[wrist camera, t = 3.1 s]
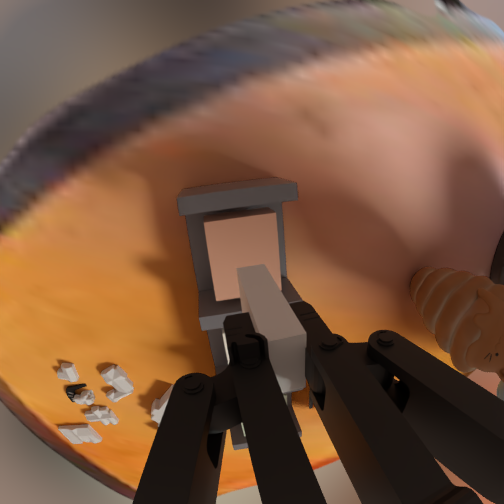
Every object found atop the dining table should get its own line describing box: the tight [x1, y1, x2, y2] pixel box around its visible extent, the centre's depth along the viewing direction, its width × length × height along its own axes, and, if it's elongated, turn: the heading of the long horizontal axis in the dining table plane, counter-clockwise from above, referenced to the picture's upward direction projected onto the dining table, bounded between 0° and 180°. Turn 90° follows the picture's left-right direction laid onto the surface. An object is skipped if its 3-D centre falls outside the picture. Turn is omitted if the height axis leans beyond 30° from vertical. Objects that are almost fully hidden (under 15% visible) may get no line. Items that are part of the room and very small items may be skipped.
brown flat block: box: [204, 207, 282, 301], centre depth 22 cm, size 5×6×2 cm
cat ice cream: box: [410, 267, 504, 382], centre depth 22 cm, size 9×8×18 cm
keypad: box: [177, 177, 303, 450], centre depth 26 cm, size 8×28×6 cm, turn 6°
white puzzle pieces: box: [57, 363, 174, 444], centre depth 28 cm, size 20×24×2 cm
